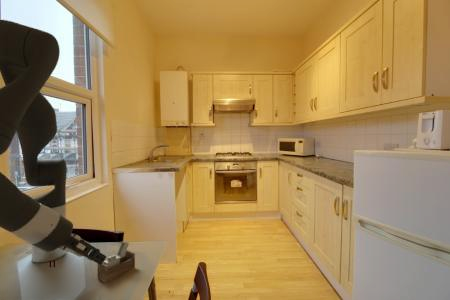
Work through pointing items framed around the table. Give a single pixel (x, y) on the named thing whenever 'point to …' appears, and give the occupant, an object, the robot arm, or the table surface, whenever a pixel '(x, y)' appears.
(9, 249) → the table surface
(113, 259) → the lighter
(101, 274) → the open wooden box
